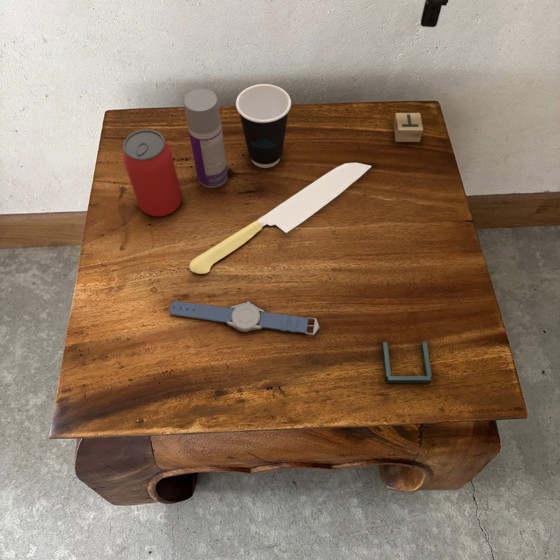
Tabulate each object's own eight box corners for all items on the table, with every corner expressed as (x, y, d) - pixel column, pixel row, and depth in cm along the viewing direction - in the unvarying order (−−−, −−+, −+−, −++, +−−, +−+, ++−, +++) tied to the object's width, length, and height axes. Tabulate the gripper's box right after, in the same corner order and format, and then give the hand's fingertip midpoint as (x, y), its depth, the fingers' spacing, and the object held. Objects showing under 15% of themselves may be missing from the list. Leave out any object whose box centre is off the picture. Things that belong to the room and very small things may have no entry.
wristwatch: (317, 342, 71) (318, 339, 70) (166, 322, 72) (165, 318, 71) (321, 313, 73) (321, 310, 72) (174, 294, 74) (173, 290, 74)
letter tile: (392, 124, 92) (395, 112, 89) (416, 124, 92) (420, 112, 89) (395, 142, 90) (398, 129, 87) (420, 142, 89) (423, 129, 87)
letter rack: (381, 345, 71) (382, 341, 70) (425, 345, 70) (426, 341, 70) (385, 383, 68) (386, 380, 67) (430, 383, 68) (432, 380, 67)
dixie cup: (272, 132, 91) (271, 76, 81) (300, 161, 87) (302, 106, 78) (231, 152, 88) (225, 97, 79) (258, 182, 85) (255, 129, 76)
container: (194, 170, 86) (178, 92, 74) (222, 162, 87) (212, 84, 75) (202, 191, 84) (188, 115, 71) (231, 183, 85) (222, 106, 72)
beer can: (132, 214, 82) (110, 157, 72) (148, 181, 85) (129, 122, 75) (174, 222, 81) (158, 165, 71) (188, 189, 84) (175, 130, 74)
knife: (380, 171, 86) (360, 150, 87) (203, 284, 74) (183, 258, 76) (378, 176, 87) (358, 156, 88) (203, 288, 76) (183, 263, 77)
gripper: (496, -92, 60) (456, 40, 74) (485, -149, 68) (451, -20, 82) (427, -95, 61) (400, 36, 75) (424, -152, 68) (400, -23, 82)
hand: (427, 7), depth 78 cm, fingers open, 8 cm apart
